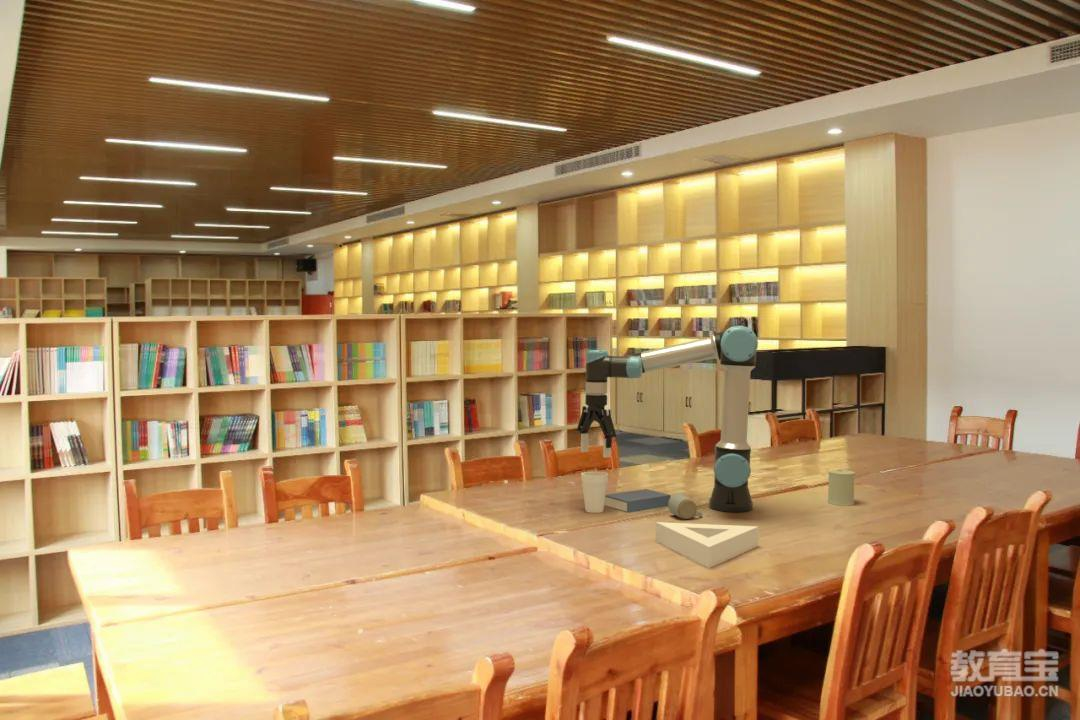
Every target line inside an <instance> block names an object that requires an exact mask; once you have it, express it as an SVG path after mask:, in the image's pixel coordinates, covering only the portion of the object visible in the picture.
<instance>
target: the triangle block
mask: <svg viewBox="0 0 1080 720" xmlns="http://www.w3.org/2000/svg"><path fill="white" fill-rule="evenodd" d="M759 527H760V526H754V525H753V526H751V525H733V524H732V525H729V524H711V523H710V524H708V523H707V524H706V523H688V522H687V523H683V522H661V521H656V522H655V542H657V543H659V544H661V545H663V546H665V547H666V548H668V549H671V550H672V551H675V552H676V553H678V554H680V555H682V556H685V557H686V558H687V559H690V560H691V561H693V562H695V563H698V564H699V565H702V566H703V567H705V568H707V569H711V568H713V567H715V566H717V565H719V564H722V563H724V562H727V561H729V560H731V559H732V558H736V557H738V556H739V555H741V554H744V553H746V552H748V551H750V550H752V549H755V548H757V547H758V546H759V536H760V535H759V532H760V531H759V530H760V529H759Z"/></svg>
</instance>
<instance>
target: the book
mask: <svg viewBox="0 0 1080 720" xmlns="http://www.w3.org/2000/svg"><path fill="white" fill-rule="evenodd" d="M671 496H672V494H669V493H665V492H660V491H657V490H654V489H653V490H652V489H647V488H644V489H638V490H631V491H623V492H617V493H610V494H606V497H605V504H604V507H607V508H610V509H613V510H616V511H617V510H618V511H621V512H624V513H633V512H635V513H636V512H641V511H647V510H653V509H654V510H655V509H659V508H665V507H667V508H668V502H669V499H670V498H671Z"/></svg>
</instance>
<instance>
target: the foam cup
mask: <svg viewBox="0 0 1080 720" xmlns="http://www.w3.org/2000/svg"><path fill="white" fill-rule="evenodd" d="M580 474H581V475H580V477H581V478H580V480H581V485H582V492H583V493H582V494H583V500H584V502H583V503H584V507H585V509H584V510H585V512H587V513H591V514H592V513H593V514H595V513H597V514H599V513H602V512H604V511H605V497H606V495H607V489H608V487H607V486H608V482H609V473H608V472H605V471H584V472H581V473H580Z"/></svg>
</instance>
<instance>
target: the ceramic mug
mask: <svg viewBox="0 0 1080 720" xmlns="http://www.w3.org/2000/svg"><path fill="white" fill-rule="evenodd" d="M667 508H668V511H669V512H670V513H671V514H672V515H674V516H676V517H678V518H679V519H681V520H690V519H692V518H693V517H698V518H702V515H703V512H701V511H699V510H698V509H697V503H696V502H695V501H694V500H693V499H691V498H690V497H688V496H687V495H685V494H684V493H681V492H676V493H674V494H671V498H670V499H669V502H668V506H667Z"/></svg>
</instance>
